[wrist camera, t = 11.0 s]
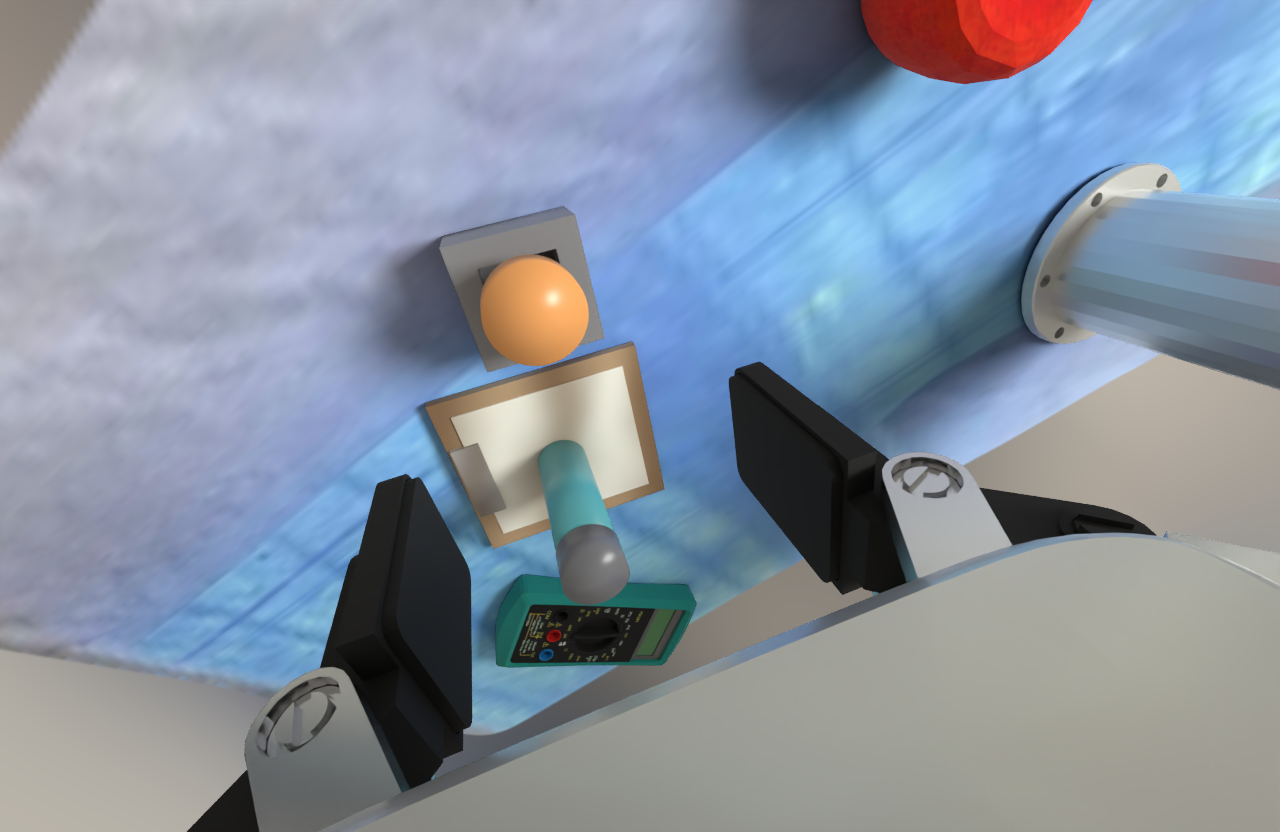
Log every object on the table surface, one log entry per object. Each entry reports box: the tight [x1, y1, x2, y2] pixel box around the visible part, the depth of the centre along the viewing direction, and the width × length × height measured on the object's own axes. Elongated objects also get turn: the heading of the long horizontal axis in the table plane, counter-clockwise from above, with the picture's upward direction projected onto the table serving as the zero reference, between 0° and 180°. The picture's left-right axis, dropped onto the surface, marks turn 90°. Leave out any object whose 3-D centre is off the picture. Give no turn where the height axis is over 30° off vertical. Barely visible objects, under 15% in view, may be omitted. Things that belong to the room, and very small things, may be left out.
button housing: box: [439, 206, 604, 372], centre depth 25 cm, size 6×6×3 cm
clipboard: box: [425, 342, 664, 549], centre depth 31 cm, size 12×11×1 cm
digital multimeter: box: [495, 575, 697, 668], centre depth 39 cm, size 7×15×3 cm, turn 69°
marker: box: [538, 440, 630, 605], centre depth 27 cm, size 3×3×10 cm
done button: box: [480, 254, 589, 366], centre depth 23 cm, size 4×4×4 cm
